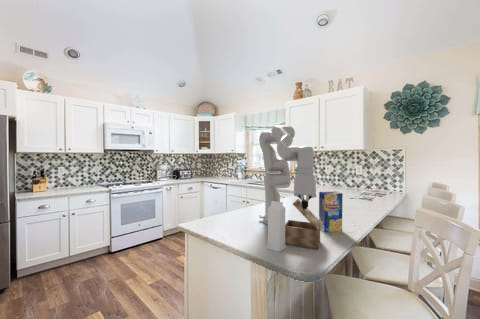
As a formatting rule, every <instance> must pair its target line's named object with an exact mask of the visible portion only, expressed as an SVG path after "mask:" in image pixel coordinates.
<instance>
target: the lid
mask: <svg viewBox="0 0 480 319" xmlns="http://www.w3.org/2000/svg"><path fill="white" fill-rule="evenodd" d="M292 205H293V206H294V207H295V208H296V209H297V210H298V211H299V213H301V215H302V216H303V217H304V218H305V219H306V220H307V222H310V223H311V224H312V225H313V226H314V227H315V228H316V229H317V230H319V227H320V224H321V222H320V221H319V217H317V216H316V215H315V214H314V213H313V212H312V211H311V210H310V209H309V207H307V209H303V207H302V201H301V199H300V198H298V199H296V200H295V201H294V202H293V203H292Z"/></svg>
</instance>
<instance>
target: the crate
mask: <svg viewBox="0 0 480 319" xmlns="http://www.w3.org/2000/svg"><path fill="white" fill-rule="evenodd" d="M320 243H321V229H320V227H319V230H317V229H316V228H315V227H314V226H313V225H312V224H311V223H310V222H309V221H300V220H293V219H289V220H287V221H286V222H285V246H291V247H296V248H302V249H309V250H314V251H318V250H319V247H320Z"/></svg>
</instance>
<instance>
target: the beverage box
mask: <svg viewBox="0 0 480 319" xmlns="http://www.w3.org/2000/svg"><path fill="white" fill-rule="evenodd" d="M318 220H319V221H320V222H321V224H320V231H322V232H324V233H330V232H331V233H332V232H343V192H339V191H319V192H318Z"/></svg>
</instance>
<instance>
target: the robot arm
mask: <svg viewBox="0 0 480 319" xmlns="http://www.w3.org/2000/svg"><path fill="white" fill-rule="evenodd" d="M295 135H296V131H295V129H294V127H292V126H291V125H275V126H273V127H272V128H271V130H265V131H262V132H261V133H260V134H259V136H258V137H259V139H258V140H259V141H258V142H259V146H260V149H261V152H262V157H263V166H264V170H265V171H266V172H267V173H268V174H266V175H265V176H264V177H263V183H264V190H265V191H264V192H265V194H264V195H265V200H264V202H265V203H264V206H265V211H264V214H258V215H259V216H258V217H259V219H262V223H263V224H265V225H268V208H269V207H270V205H271V201H277V202H281V194H280V192H279V191H278V190H277V189H288V188H290V186H291V183H292V182H291V173H290V172H291V171H290V167H289V166H290V165H289V163H288V162H296V164H297V165H296V166H297V167H296V168H294V169H293V170H294V172H295V176H294V182H293V192H294V193H293V196H294V197H295V198H298V199H299V200H300V201H301V202H302V207H303V209H307V208H309V201H310V200H311V199H313V198H314V199H315V198H317V184H316V182H317V181H316V176H315V174H314V148H313V147H312V146H292V143H293V142H294V138H295ZM272 145H276V150H275V149H274V147H273V146H272ZM276 152H277V153H276ZM277 155H278V156H279V157H277ZM305 196H306V197H305Z"/></svg>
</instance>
